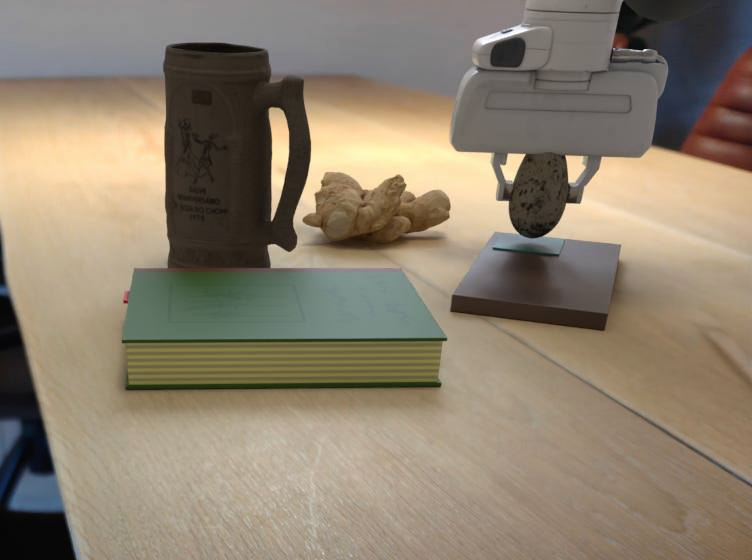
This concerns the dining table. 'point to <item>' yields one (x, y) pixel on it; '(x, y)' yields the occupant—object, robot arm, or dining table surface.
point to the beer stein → (228, 156)
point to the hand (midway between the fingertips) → (537, 201)
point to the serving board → (541, 280)
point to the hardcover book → (278, 329)
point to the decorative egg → (539, 194)
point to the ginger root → (374, 209)
